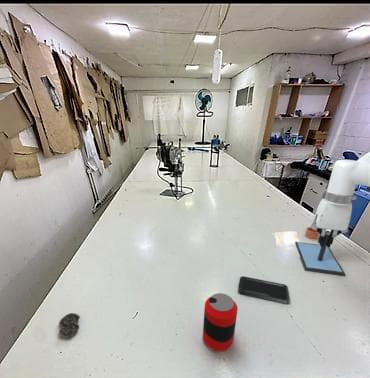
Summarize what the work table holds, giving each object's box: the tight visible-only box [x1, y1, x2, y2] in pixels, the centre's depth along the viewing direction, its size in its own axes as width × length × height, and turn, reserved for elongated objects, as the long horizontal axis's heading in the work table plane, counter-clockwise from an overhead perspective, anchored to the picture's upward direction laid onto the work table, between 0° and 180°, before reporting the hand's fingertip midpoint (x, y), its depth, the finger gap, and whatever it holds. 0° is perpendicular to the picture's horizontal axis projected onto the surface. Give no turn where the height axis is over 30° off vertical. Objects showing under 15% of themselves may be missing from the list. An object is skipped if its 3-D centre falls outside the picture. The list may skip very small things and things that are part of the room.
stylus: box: [318, 230, 331, 261], centre depth 87 cm, size 2×2×12 cm
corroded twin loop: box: [58, 312, 81, 339], centre depth 61 cm, size 5×8×1 cm, turn 23°
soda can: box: [202, 292, 239, 352], centre depth 57 cm, size 8×8×12 cm
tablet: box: [294, 241, 346, 277], centre depth 93 cm, size 13×20×1 cm, turn 166°
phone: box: [237, 275, 290, 304], centre depth 75 cm, size 8×1×15 cm
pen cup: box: [304, 226, 320, 241], centre depth 107 cm, size 6×6×4 cm
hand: (324, 244), depth 87 cm, fingers closed on stylus, 1 cm apart
